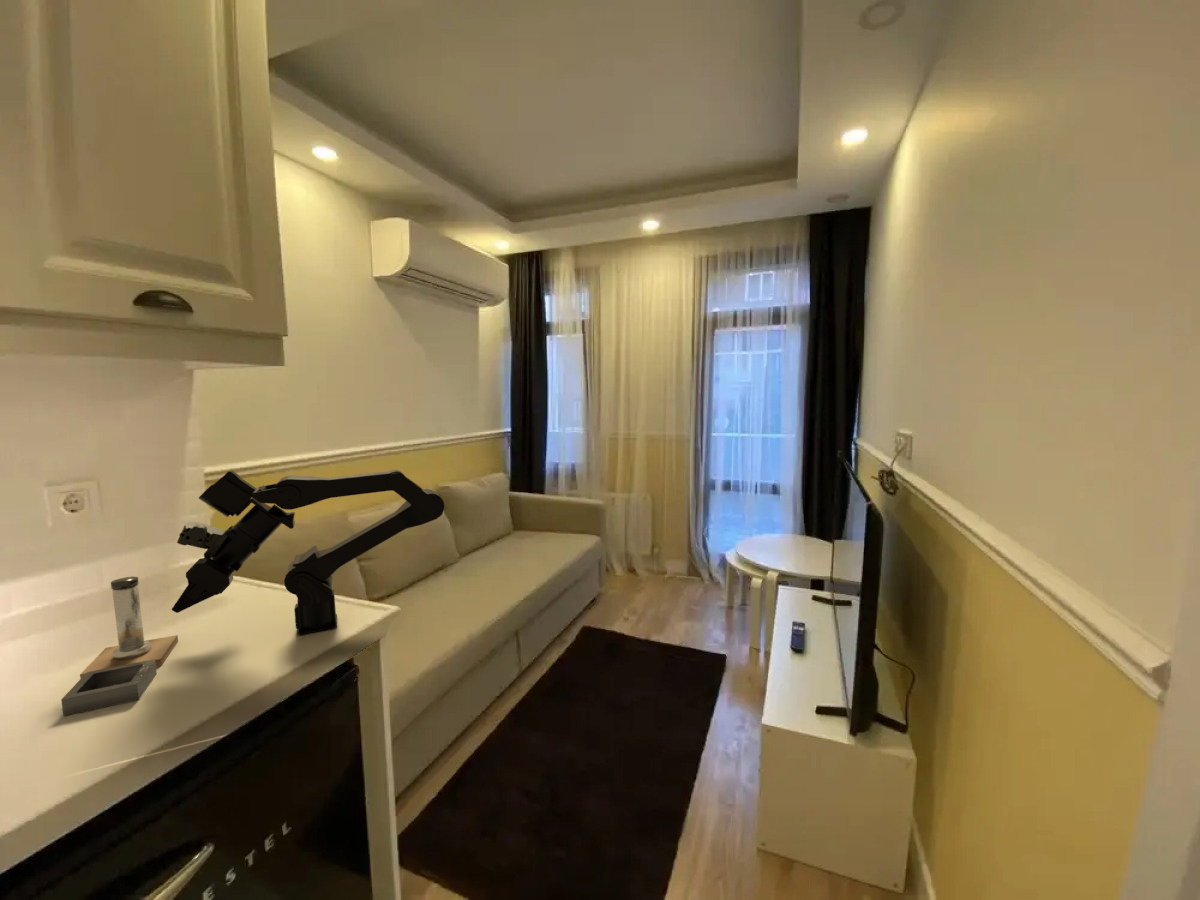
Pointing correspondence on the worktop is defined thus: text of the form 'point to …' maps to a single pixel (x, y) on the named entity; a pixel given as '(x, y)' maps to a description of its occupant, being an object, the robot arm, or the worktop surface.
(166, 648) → the walnut pad
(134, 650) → the capped metal cylinder
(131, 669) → the holder
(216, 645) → the worktop surface
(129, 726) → the worktop surface
